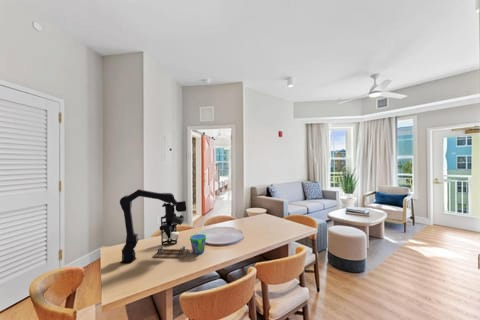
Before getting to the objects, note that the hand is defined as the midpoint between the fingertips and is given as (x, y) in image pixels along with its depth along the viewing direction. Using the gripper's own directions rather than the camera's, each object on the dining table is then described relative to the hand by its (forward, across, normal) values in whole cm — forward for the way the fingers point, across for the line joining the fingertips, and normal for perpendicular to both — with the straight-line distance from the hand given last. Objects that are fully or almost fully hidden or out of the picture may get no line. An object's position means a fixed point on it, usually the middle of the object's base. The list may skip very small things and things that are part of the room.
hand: (170, 236), depth 139 cm
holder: (+11, +18, +9) cm, 23 cm away
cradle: (+11, 0, 0) cm, 11 cm away
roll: (+1, 0, 0) cm, 1 cm away
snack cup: (+12, +4, -17) cm, 21 cm away
